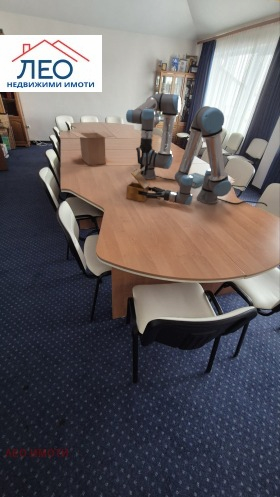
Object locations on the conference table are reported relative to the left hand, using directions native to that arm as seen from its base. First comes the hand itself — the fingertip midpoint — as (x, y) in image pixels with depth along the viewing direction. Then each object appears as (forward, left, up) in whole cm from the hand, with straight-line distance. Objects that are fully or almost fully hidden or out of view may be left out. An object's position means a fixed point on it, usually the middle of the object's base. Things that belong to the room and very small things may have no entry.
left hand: (143, 174), depth 155 cm
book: (-52, -37, -18) cm, 67 cm away
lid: (+2, -1, -4) cm, 5 cm away
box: (+42, -95, -18) cm, 106 cm away
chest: (+3, -2, -18) cm, 19 cm away
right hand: (+1, -1, -12) cm, 12 cm away
